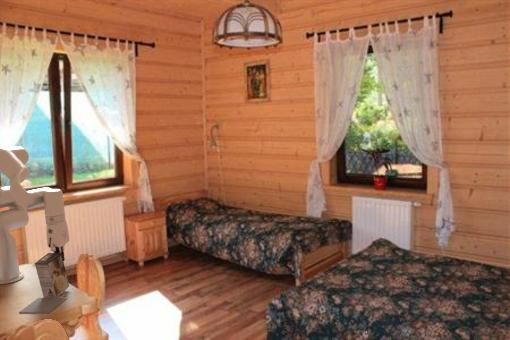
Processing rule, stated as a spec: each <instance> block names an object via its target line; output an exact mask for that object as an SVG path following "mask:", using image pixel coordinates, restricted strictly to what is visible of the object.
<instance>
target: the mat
mask: <svg viewBox="0 0 510 340" xmlns="http://www.w3.org/2000/svg"><path fill="white" fill-rule="evenodd" d="M67 299H68V298H67V297H58V298H44V297H37V298H36V299H35V300H33V301H32V302H31V303H30V304H28V305H27V306H26V307H24V308H23V309H21V310H20V311H18V313H19V314H48V315H49V314H51V313H53V311H55V310H56V309H57V308H58V307H59V306H60V305H62V304H63V303H64V302H65V301H66V300H67Z"/></svg>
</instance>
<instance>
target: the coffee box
mask: <svg viewBox="0 0 510 340" xmlns="http://www.w3.org/2000/svg"><path fill="white" fill-rule="evenodd" d="M64 261H65V260H64ZM64 261H63V257H62V253H54V252H48V253H46V254H45V255H44V256H43V257H41V258H40V259H39V260H37V261H36V262H35V263H34V265H35V269H36V274H37V277H38V282H39V284H40V289H41V293H42V298H60V296H61V295H62V294H63V293H64V292H65V291H66V290H67V289H68V288H69V287H70V284H69V279H68V275H67V270H66V267H65V262H64Z"/></svg>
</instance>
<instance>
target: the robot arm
mask: <svg viewBox="0 0 510 340" xmlns="http://www.w3.org/2000/svg"><path fill="white" fill-rule="evenodd" d="M29 157H30V155H29V153H28V151H27V149H25V148H24V147H23V146H10V147H9V146H8V147H7V146H6V147H0V170H1V172H2V173H3V174H4V175H5V176H6V177H7V179H8V180H9V185H6V186H1V185H0V210H1V209H5V208H8V209H5V210H1V211H0V285H5V284H11V283H12V284H13V283H15V282H19V281H20V280H22V279H23V278H24V276H25V274H24V273H23V272H20V265H19V257H18V248H17V240H16V237H14V235H13V234H12V233H11V232H12V231H14V230H17V229H20V228H23V227H26V226H27V225H28V224H29V222H30V221H29V220H30V218H29V213H28V210H32V209H36V208H41V207H44V208H43V209H44V217H45V224H46V244H47V247H48V248H50V252H53V253H62V257H63V261H65V259H66V258H65V246H66V244H68V243H69V242H70V233H69V229H68V223H67V221H66V214H65V213H66V211H65V202H64V195H63V194H64V193H63V190H62V189H60V188H51V187H41V188H36V189H31V190H27V189H25V188H24V187H23V186H22V185H21V184H22V183H23V182H24V181H25V180H26V179H27V178H28V177H29V175H30V169H29V167H27V165H26V164H27V163H28V162H29V159H30V158H29Z"/></svg>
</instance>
